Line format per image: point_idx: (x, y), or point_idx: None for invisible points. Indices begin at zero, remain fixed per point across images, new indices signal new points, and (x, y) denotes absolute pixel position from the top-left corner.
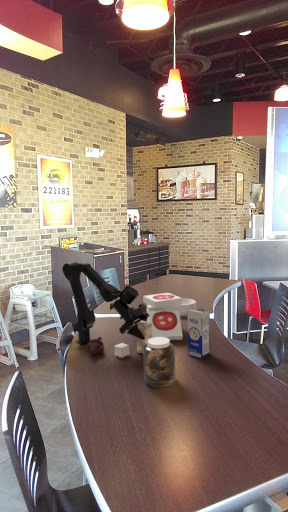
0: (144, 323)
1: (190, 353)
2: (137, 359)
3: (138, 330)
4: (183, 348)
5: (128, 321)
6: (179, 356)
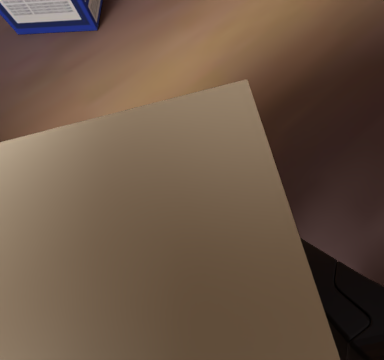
0: (128, 259)
1: (94, 8)
2: (347, 215)
3: (360, 297)
4: (20, 104)
5: None
6: (139, 51)
